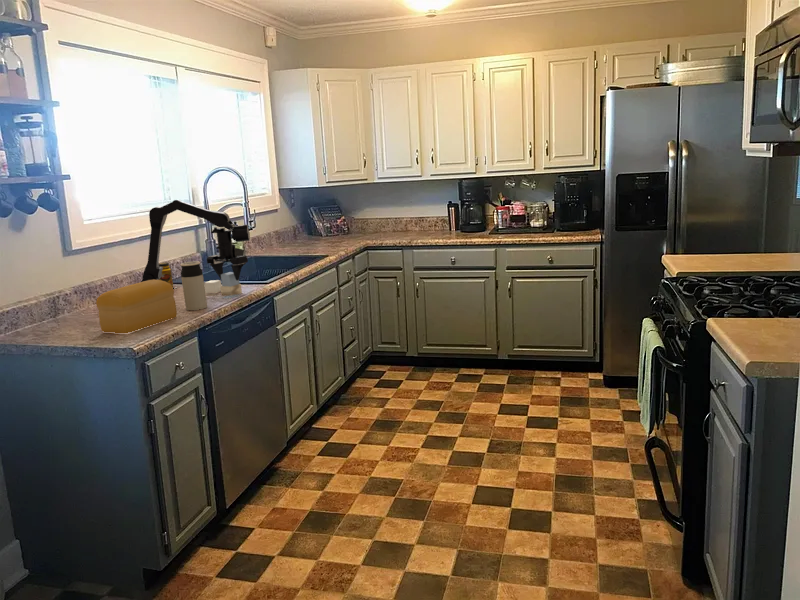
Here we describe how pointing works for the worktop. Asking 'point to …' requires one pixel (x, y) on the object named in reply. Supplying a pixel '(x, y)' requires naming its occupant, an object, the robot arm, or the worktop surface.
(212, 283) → the cream cube
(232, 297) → the tile
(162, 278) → the condiment
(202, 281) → the travel mug
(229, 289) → the birch block
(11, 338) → the worktop surface
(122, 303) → the bread
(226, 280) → the blue cube
